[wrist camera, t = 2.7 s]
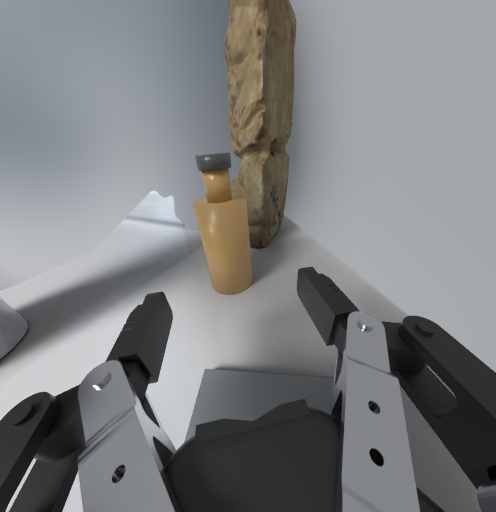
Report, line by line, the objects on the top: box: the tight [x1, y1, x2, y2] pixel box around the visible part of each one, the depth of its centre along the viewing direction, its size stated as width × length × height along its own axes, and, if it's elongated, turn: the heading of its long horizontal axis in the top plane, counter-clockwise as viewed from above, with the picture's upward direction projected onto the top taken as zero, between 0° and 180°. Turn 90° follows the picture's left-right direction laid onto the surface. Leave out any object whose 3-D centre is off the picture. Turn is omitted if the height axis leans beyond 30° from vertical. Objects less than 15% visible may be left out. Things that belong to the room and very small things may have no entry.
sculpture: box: [225, 0, 296, 247], centre depth 28 cm, size 12×9×30 cm
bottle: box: [193, 153, 253, 295], centre depth 21 cm, size 6×6×15 cm
